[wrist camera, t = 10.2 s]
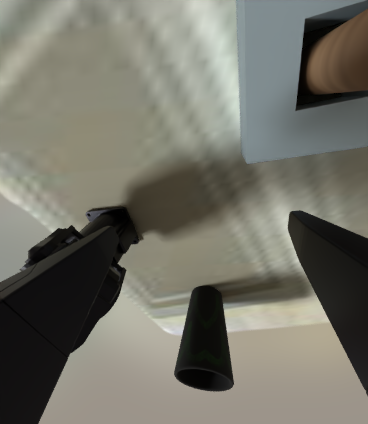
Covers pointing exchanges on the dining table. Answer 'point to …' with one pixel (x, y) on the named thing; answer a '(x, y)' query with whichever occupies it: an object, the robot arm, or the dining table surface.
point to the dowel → (337, 60)
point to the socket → (291, 82)
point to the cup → (205, 344)
